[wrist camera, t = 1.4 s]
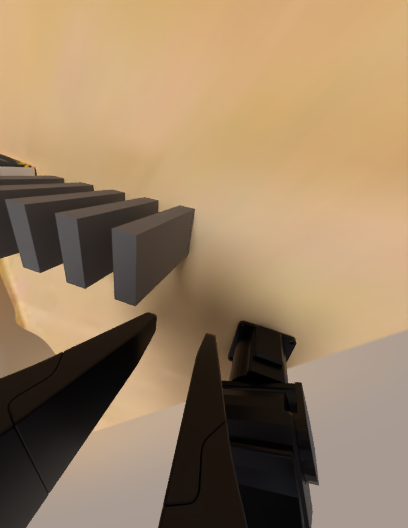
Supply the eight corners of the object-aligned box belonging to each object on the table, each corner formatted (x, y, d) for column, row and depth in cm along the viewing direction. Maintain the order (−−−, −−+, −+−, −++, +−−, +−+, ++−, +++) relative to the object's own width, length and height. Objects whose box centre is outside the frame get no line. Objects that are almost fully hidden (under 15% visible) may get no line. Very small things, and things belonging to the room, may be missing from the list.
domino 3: (125, 236, 23) (40, 272, 15) (113, 233, 24) (23, 267, 15) (124, 192, 21) (24, 204, 12) (111, 189, 22) (4, 199, 13)
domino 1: (69, 221, 25) (-38, 245, 16) (59, 218, 25) (-52, 240, 16) (63, 178, 23) (-65, 180, 14) (52, 175, 23) (-81, 175, 14)
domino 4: (155, 245, 23) (85, 288, 14) (143, 241, 23) (66, 282, 14) (158, 200, 20) (76, 219, 12) (144, 197, 21) (55, 213, 12)
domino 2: (96, 228, 24) (-1, 258, 15) (85, 225, 24) (-16, 253, 16) (93, 185, 22) (-23, 191, 13) (81, 182, 22) (-40, 186, 14)
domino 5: (188, 254, 22) (135, 306, 13) (174, 250, 22) (114, 298, 14) (194, 209, 20) (136, 235, 11) (179, 205, 20) (111, 228, 11)
